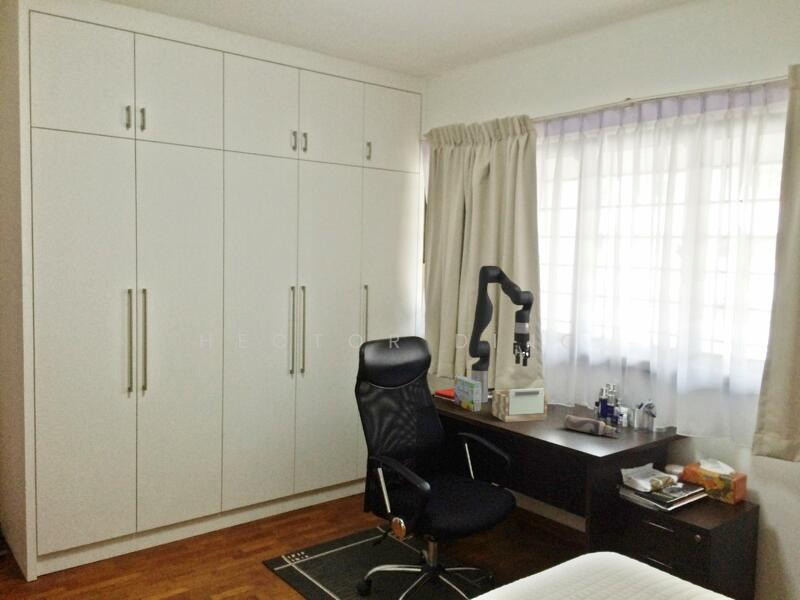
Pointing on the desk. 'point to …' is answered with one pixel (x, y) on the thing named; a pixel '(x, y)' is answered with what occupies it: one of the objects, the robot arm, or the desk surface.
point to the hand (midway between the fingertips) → (521, 365)
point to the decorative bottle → (588, 425)
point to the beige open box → (502, 406)
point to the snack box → (467, 393)
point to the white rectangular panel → (526, 401)
